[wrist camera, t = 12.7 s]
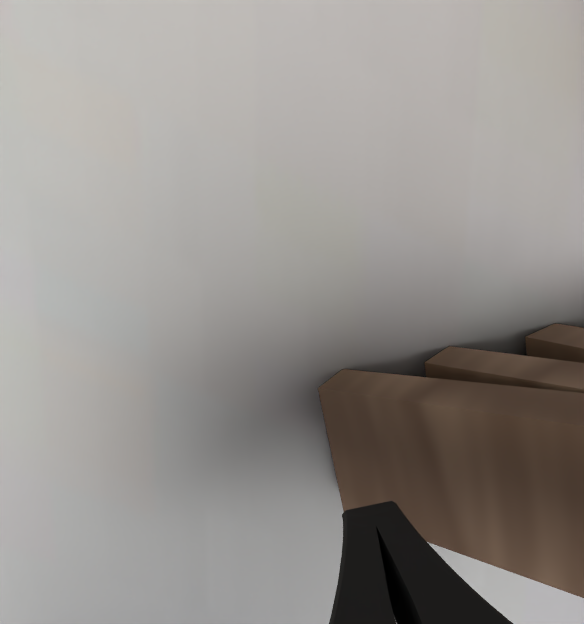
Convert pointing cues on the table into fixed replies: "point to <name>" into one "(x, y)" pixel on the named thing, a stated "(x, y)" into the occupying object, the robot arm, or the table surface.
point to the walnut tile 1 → (467, 466)
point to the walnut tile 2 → (506, 369)
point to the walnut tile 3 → (557, 343)
